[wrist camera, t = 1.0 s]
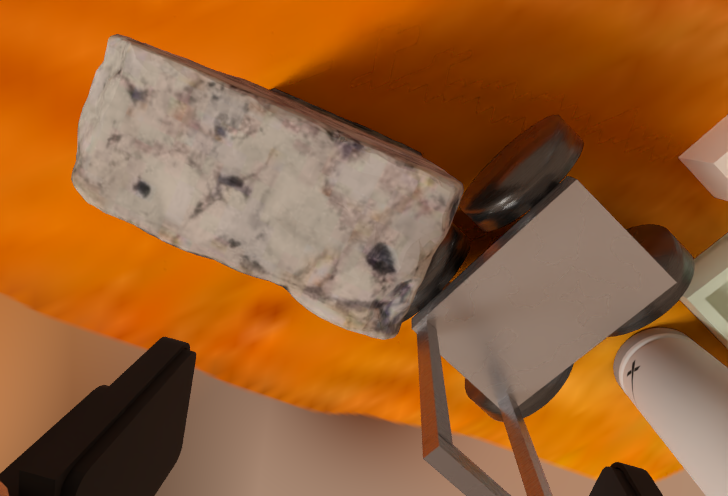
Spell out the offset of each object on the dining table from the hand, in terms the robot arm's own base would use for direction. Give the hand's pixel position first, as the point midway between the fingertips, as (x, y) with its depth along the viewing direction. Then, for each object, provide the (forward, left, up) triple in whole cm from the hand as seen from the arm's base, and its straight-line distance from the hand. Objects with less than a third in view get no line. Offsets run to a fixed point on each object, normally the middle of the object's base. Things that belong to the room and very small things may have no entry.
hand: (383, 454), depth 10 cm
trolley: (-3, +8, -26) cm, 27 cm away
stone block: (0, -7, -26) cm, 27 cm away
